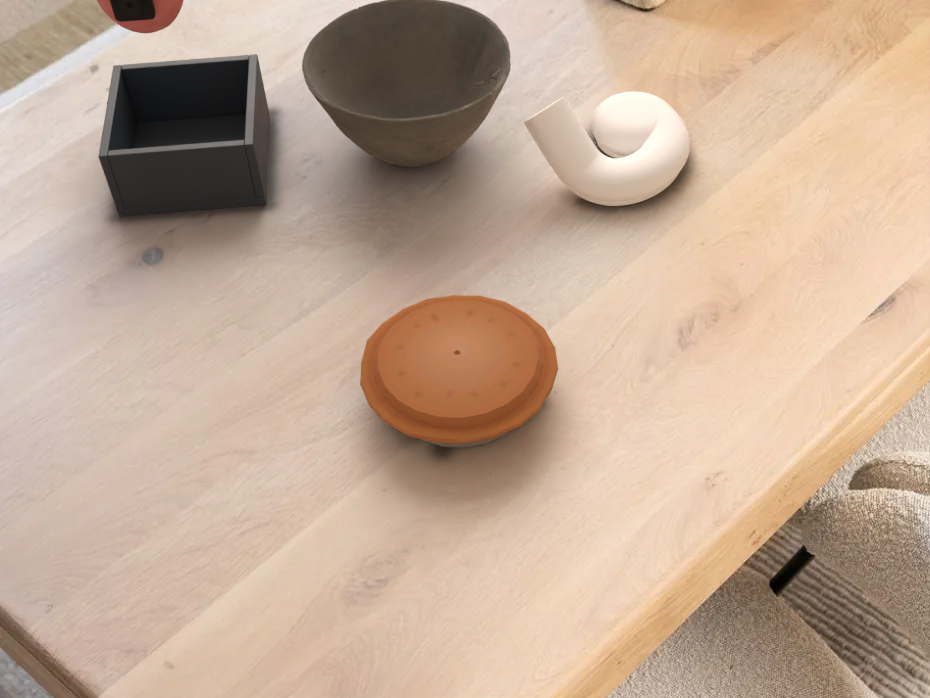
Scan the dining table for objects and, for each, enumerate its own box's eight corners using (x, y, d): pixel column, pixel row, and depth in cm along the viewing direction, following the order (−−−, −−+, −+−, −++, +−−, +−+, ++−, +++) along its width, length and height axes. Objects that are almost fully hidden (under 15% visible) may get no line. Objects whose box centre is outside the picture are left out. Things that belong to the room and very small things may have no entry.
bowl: (477, 228, 112) (472, 136, 104) (286, 189, 116) (268, 98, 108) (538, 105, 122) (538, 13, 114) (362, 73, 126) (350, -18, 118)
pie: (515, 305, 105) (514, 261, 101) (586, 436, 97) (589, 394, 93) (341, 355, 103) (333, 312, 99) (398, 495, 94) (392, 454, 90)
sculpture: (720, 151, 117) (731, 79, 110) (619, 233, 110) (624, 161, 104) (620, 100, 122) (625, 28, 116) (519, 175, 116) (517, 103, 109)
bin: (118, 216, 114) (98, 156, 109) (131, 125, 122) (113, 65, 117) (266, 204, 114) (253, 144, 109) (269, 114, 123) (257, 53, 117)
